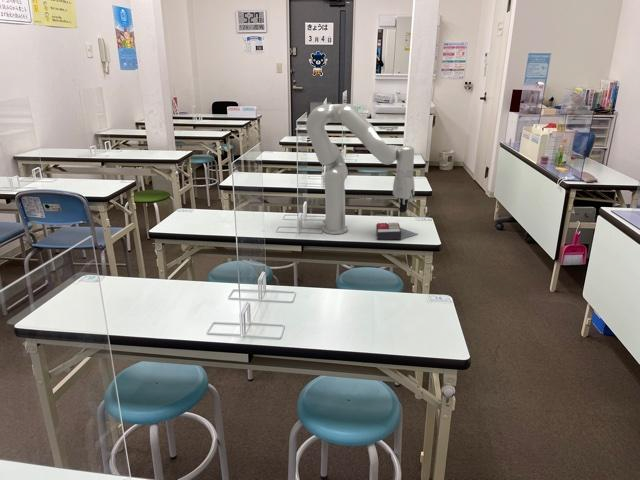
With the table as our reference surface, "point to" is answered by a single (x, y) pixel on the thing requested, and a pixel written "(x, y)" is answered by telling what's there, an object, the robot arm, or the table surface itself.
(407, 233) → the mat
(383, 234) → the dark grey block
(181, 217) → the table surface
